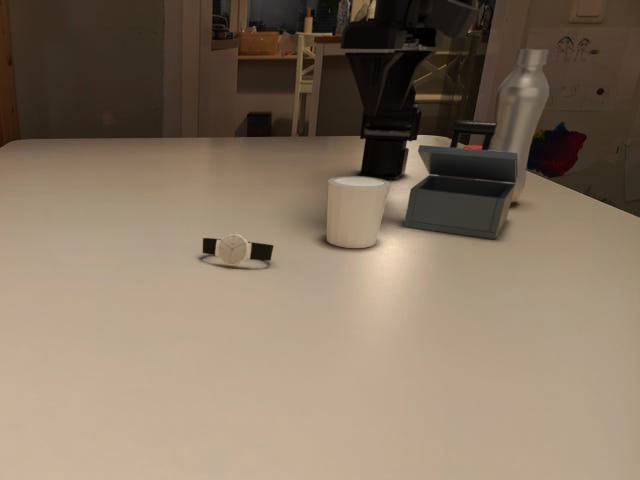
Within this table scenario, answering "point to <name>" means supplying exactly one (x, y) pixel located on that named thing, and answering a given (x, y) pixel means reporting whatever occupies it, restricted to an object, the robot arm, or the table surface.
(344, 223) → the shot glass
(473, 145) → the button
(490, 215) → the grey box
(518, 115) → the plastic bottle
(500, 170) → the box lid
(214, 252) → the watch
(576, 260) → the table surface
